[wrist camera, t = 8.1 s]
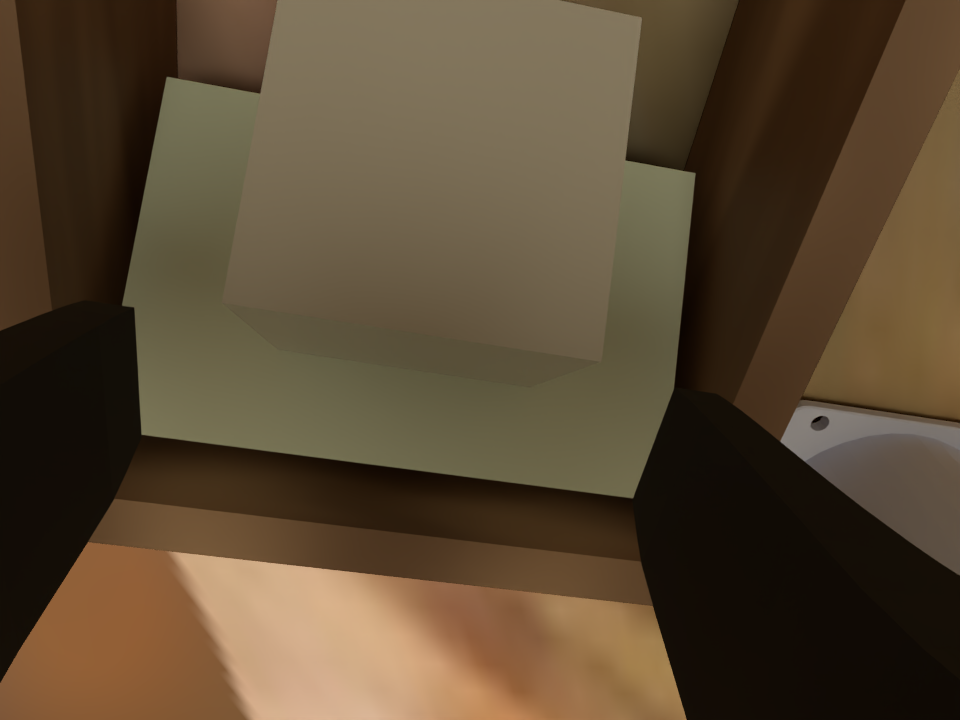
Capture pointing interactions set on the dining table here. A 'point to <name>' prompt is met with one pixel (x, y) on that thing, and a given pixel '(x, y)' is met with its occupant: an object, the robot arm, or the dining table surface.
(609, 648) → the dining table surface
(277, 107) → the beige cube
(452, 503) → the frame
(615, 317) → the flap
